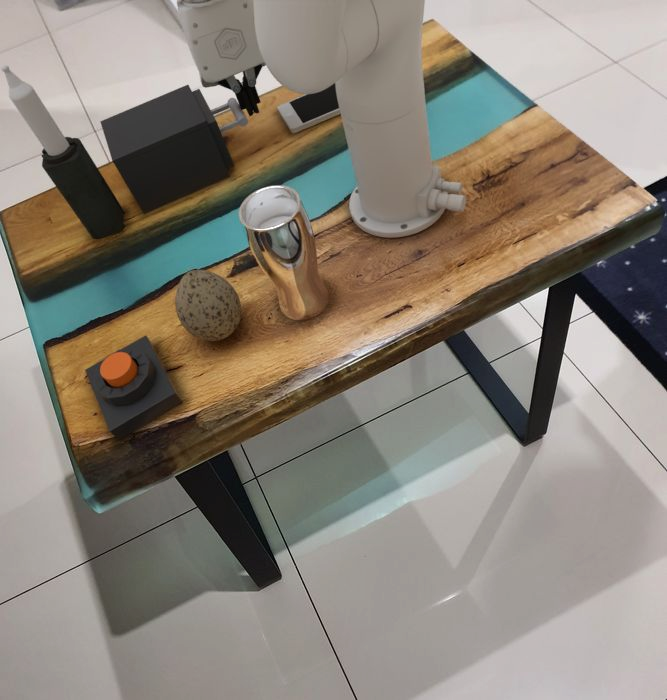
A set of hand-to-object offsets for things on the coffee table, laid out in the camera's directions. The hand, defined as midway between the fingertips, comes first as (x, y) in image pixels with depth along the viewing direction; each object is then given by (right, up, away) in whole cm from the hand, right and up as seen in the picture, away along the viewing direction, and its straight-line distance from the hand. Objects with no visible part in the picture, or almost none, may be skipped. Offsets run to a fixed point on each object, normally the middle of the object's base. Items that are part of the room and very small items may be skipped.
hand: (252, 109), depth 94 cm
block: (-11, -40, -19) cm, 45 cm away
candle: (-21, -17, 0) cm, 27 cm away
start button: (-12, -38, -22) cm, 45 cm away
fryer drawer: (-8, -7, +3) cm, 11 cm away
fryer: (-11, -9, +3) cm, 15 cm away
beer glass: (+8, -29, -16) cm, 34 cm away
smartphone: (+11, +3, +6) cm, 13 cm away
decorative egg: (-2, -33, -16) cm, 36 cm away
